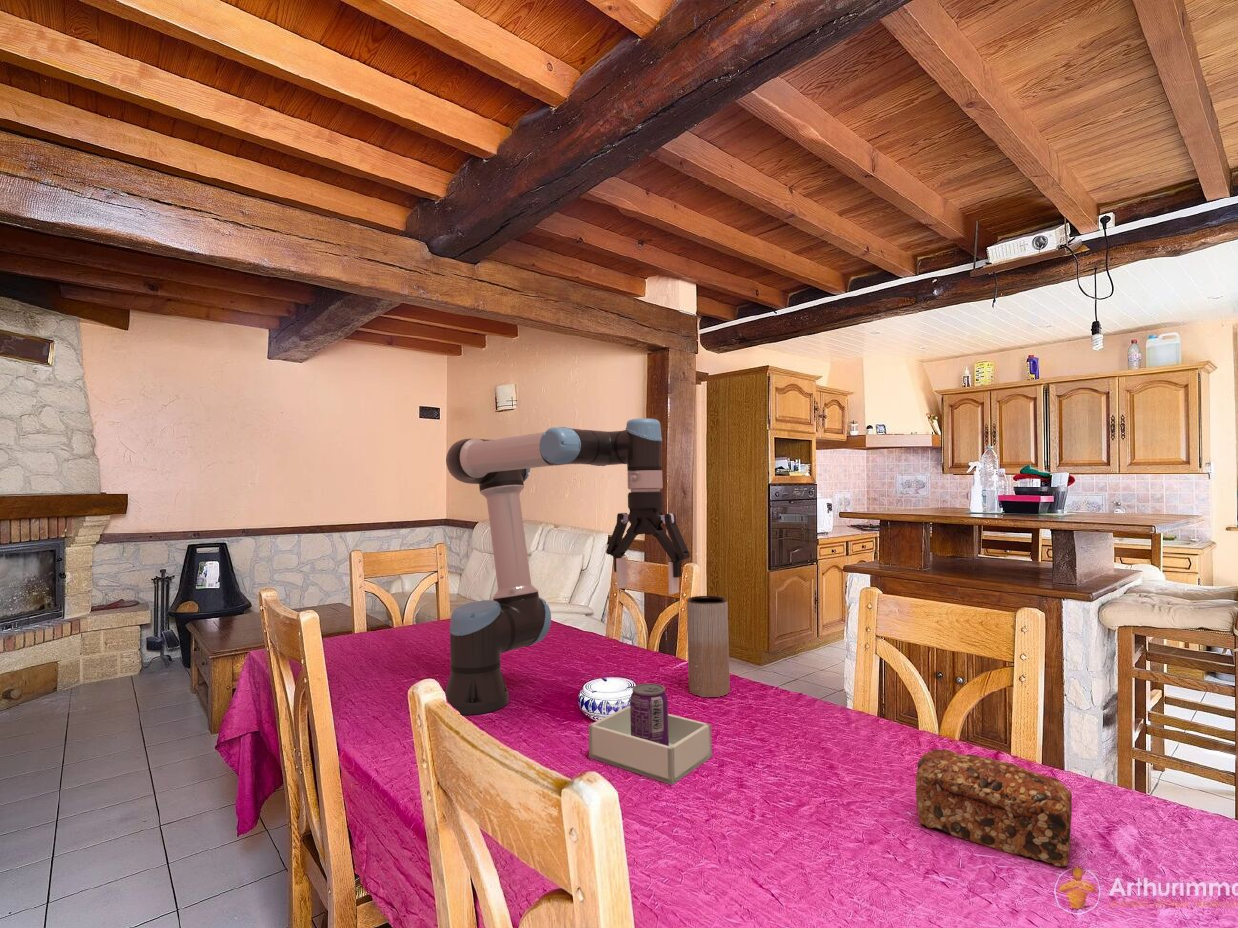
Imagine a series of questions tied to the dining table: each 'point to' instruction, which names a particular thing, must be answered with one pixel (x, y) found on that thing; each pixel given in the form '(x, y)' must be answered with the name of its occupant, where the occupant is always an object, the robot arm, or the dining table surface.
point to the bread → (995, 805)
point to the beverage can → (649, 713)
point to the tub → (651, 747)
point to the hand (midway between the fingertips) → (647, 590)
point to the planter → (708, 646)
